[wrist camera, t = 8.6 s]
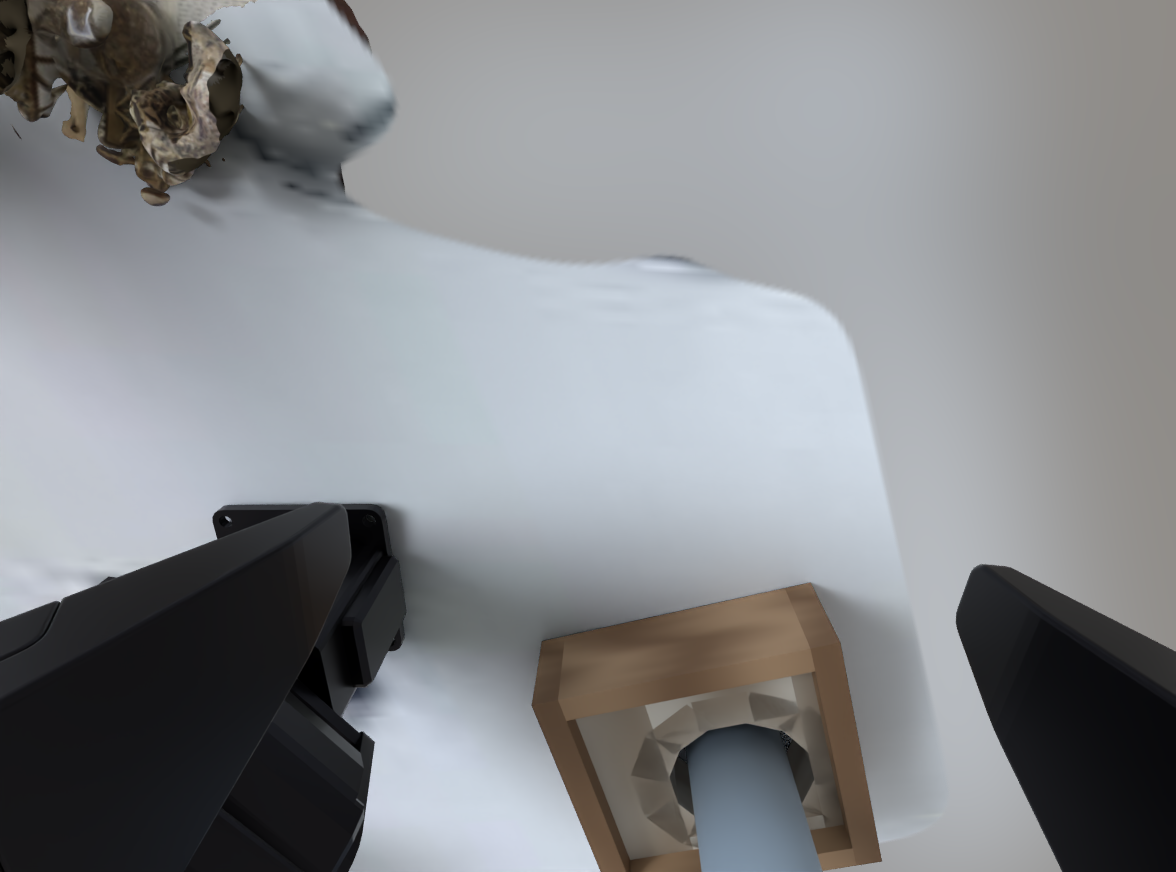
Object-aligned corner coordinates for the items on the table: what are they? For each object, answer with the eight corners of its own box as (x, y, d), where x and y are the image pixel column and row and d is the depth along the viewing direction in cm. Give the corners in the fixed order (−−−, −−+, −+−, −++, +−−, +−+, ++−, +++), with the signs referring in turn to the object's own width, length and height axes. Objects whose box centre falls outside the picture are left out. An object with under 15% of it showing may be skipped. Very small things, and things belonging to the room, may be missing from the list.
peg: (664, 736, 28) (699, 1103, 17) (720, 676, 27) (797, 1031, 15) (738, 775, 29) (818, 1153, 17) (796, 718, 27) (922, 1088, 16)
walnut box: (614, 825, 30) (613, 903, 27) (541, 641, 26) (531, 705, 23) (851, 784, 28) (881, 861, 25) (810, 582, 25) (840, 642, 21)
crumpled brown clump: (437, 236, 20) (50, 342, 17) (409, 219, 25) (112, 297, 23) (273, -302, 14) (-339, -270, 12) (282, -175, 20) (-132, -133, 17)
